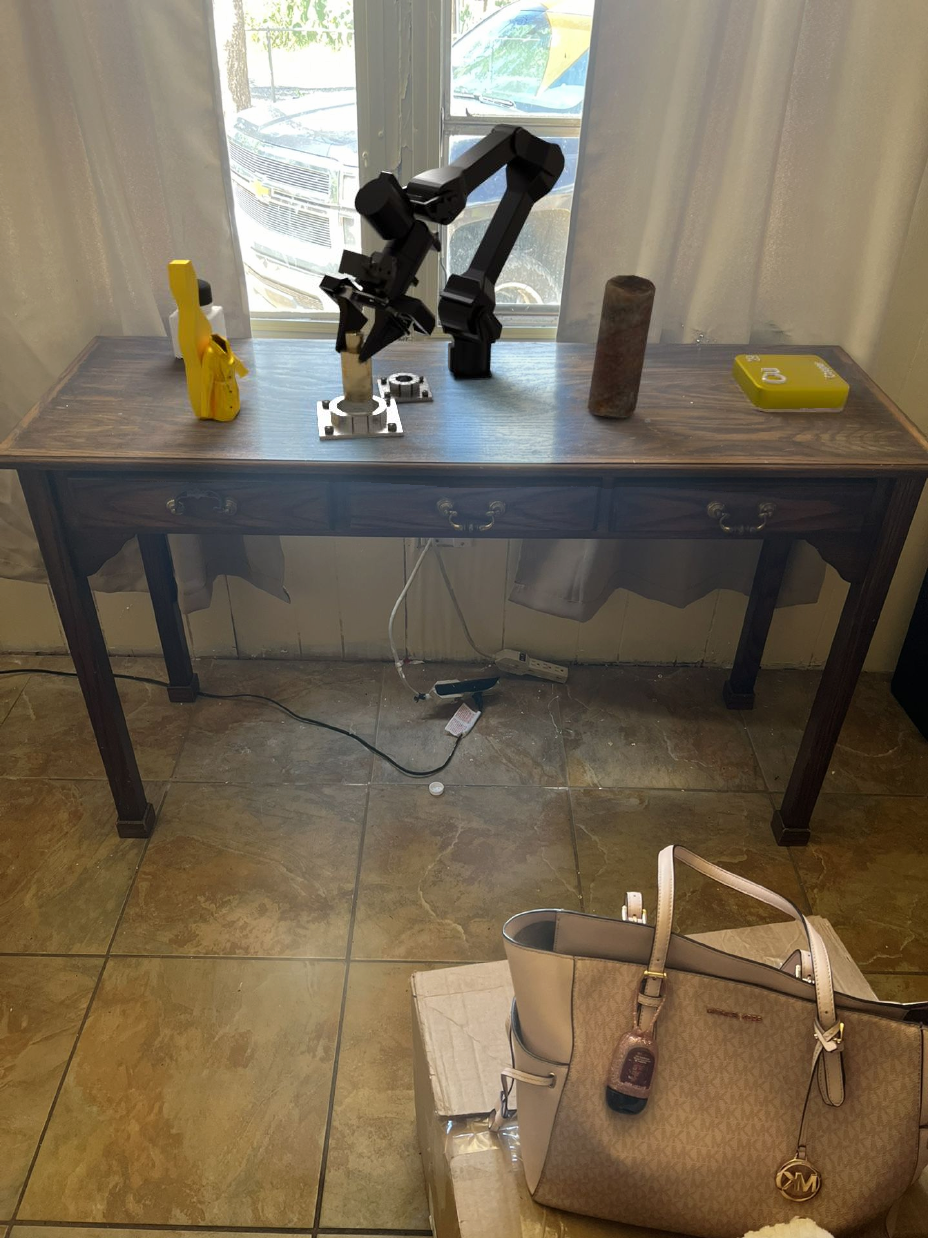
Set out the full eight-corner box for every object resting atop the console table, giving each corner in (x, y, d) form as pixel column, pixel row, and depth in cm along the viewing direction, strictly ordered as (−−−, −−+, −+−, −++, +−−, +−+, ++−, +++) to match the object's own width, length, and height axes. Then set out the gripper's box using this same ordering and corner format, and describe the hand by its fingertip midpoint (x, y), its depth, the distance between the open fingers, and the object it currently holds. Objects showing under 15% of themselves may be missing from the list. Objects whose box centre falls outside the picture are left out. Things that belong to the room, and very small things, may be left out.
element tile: (847, 415, 140) (855, 386, 138) (754, 415, 140) (761, 386, 137) (812, 378, 152) (819, 351, 149) (726, 378, 151) (732, 350, 149)
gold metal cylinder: (361, 388, 134) (358, 325, 128) (379, 397, 131) (376, 334, 125) (337, 395, 131) (333, 332, 126) (354, 405, 129) (350, 341, 123)
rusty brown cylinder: (640, 408, 139) (660, 277, 127) (631, 427, 134) (651, 291, 122) (592, 401, 141) (607, 271, 129) (582, 419, 136) (597, 285, 124)
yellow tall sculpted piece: (221, 440, 127) (197, 283, 114) (168, 436, 128) (138, 278, 114) (261, 392, 141) (244, 247, 128) (214, 388, 142) (192, 243, 129)
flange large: (394, 402, 139) (394, 387, 138) (402, 435, 130) (402, 420, 128) (317, 405, 137) (316, 391, 136) (320, 439, 128) (318, 424, 126)
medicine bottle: (228, 346, 157) (218, 276, 150) (215, 361, 151) (204, 289, 144) (189, 344, 157) (177, 274, 150) (174, 358, 152) (162, 286, 144)
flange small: (425, 381, 146) (425, 368, 145) (432, 400, 140) (432, 387, 139) (377, 383, 145) (376, 370, 144) (381, 402, 139) (381, 389, 137)
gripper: (323, 212, 124) (270, 310, 124) (421, 237, 115) (364, 343, 115) (366, 259, 134) (317, 350, 134) (459, 286, 124) (407, 383, 124)
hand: (349, 356), depth 126 cm, fingers closed on gold metal cylinder, 4 cm apart
